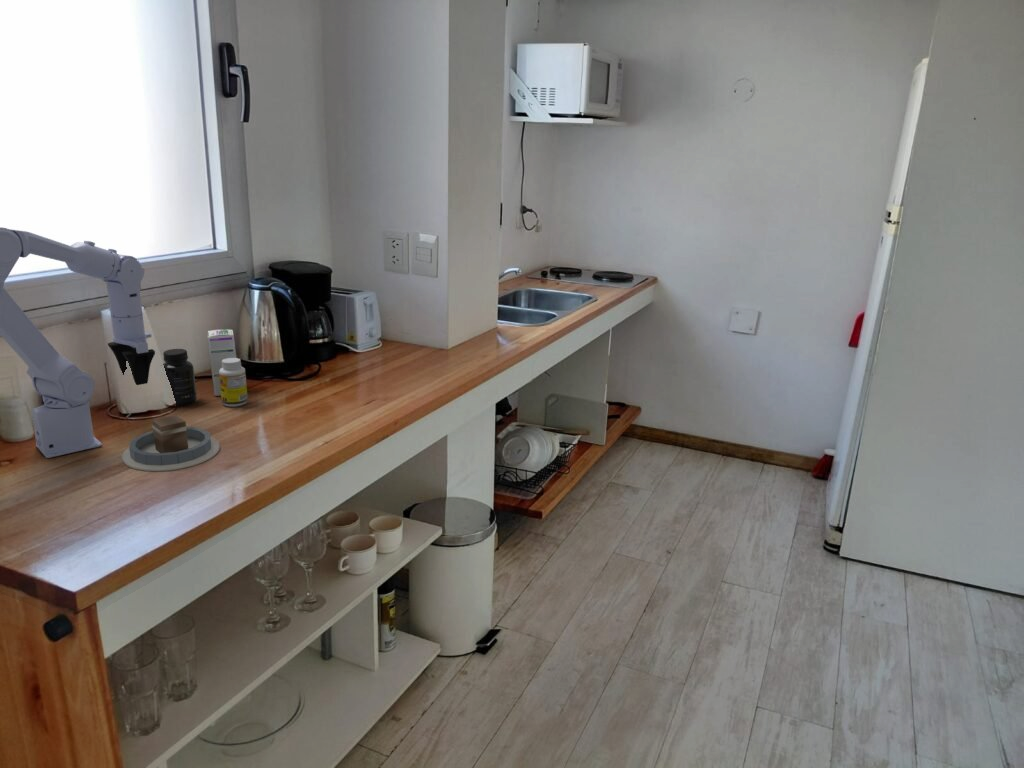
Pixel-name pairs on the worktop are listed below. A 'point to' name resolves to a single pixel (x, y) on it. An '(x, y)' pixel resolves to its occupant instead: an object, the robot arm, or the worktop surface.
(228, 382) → the supplement bottle
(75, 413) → the robot arm
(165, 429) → the walnut bead block
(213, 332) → the syrup box
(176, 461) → the round tray
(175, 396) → the supplement bottle
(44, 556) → the worktop surface
